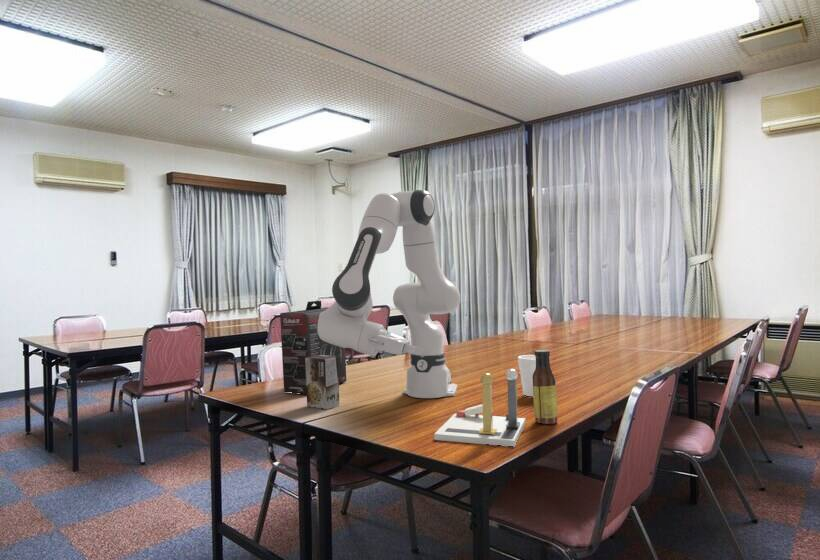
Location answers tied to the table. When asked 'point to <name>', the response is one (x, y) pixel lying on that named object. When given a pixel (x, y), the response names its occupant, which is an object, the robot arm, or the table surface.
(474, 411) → the block
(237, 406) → the table surface
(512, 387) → the graphite lever
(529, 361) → the foam cup
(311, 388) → the coffee box
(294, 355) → the headset box
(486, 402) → the brass lever
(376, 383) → the table surface
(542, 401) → the sauce bottle
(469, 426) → the panel
